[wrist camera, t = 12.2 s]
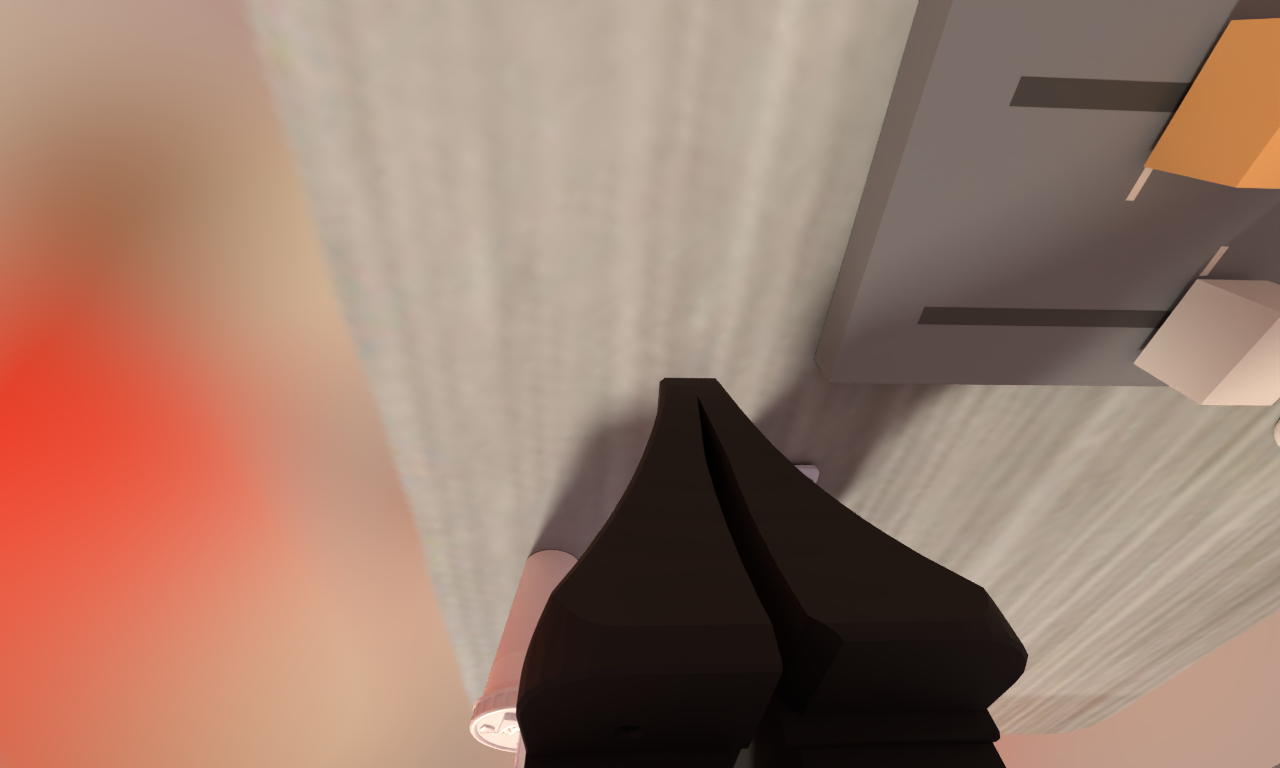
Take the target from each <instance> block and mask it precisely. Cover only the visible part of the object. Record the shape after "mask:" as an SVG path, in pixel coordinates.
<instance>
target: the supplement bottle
mask: <svg viewBox="0 0 1280 768" xmlns="http://www.w3.org/2000/svg"><path fill="white" fill-rule="evenodd" d="M1274 438H1275V441H1276V443H1277V444H1278V446H1280V420H1279V421H1278V422H1277V424H1276V426H1275V428H1274Z"/></svg>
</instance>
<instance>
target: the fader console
mask: <svg viewBox="0 0 1280 768" xmlns="http://www.w3.org/2000/svg"><path fill="white" fill-rule="evenodd" d="M1269 18H1280V0H919V3H918V7H917V10H916V13H915V17H914V20H913V24H912V27H911V31H910V34H909V37H908V41H907V44H906V48H905V51H904V54H903V58H902V61H901V65H900V68H899V72H898V75H897V78H896V82H895V85H894V89H893V92H892V95H891V99H890V102H889V106H888V109H887V113H886V116H885V119H884V123H883V126H882V130H881V133H880V136H879V140H878V143H877V147H876V150H875V154H874V157H873V160H872V164H871V167H870V171H869V174H868V177H867V181H866V184H865V188H864V191H863V195H862V198H861V201H860V205H859V208H858V212H857V215H856V218H855V222H854V225H853V229H852V232H851V236H850V239H849V242H848V246H847V249H846V253H845V256H844V259H843V263H842V266H841V270H840V273H839V277H838V280H837V283H836V287H835V290H834V294H833V297H832V300H831V304H830V307H829V311H828V314H827V318H826V321H825V324H824V328H823V331H822V335H821V338H820V341H819V345H818V348H817V352H816V355H815V359H814V360H815V362H816V364H817V365H818V367H819V368H820V370H821V372H822V373H823V375H824V376H825V378H826V380H827V381H828V383H865V384H974V385H1083V386H1169V385H1167V384H1166V383H1164V382H1162V381H1161V380H1159V379H1157V378H1156V377H1154V376H1153V375H1151V374H1149V373H1148V372H1146V371H1144V370H1143V369H1141V368H1140V367H1138V366H1136V365H1135V364H1133V363H1134V362H1135V361H1136V359H1137V358H1138V357H1139V355H1140V354H1141V353H1142V351H1143V350H1144V349H1145V347H1146V346H1147V345H1148V343H1149V342H1150V341H1151V339H1152V338H1153V337H1154V335H1155V334H1156V333H1157V332H1158V330H1159V329H1160V328H1161V326H1162V325H1163V324H1164V322H1165V321H1166V320H1167V318H1168V317H1169V316H1170V314H1171V313H1172V312H1173V310H1174V309H1175V308H1176V306H1177V305H1178V304H1179V302H1180V301H1181V300H1182V299H1183V297H1184V296H1185V295H1186V293H1187V292H1188V291H1189V289H1190V288H1191V287H1192V285H1193V284H1194V283H1195V281H1196V280H1197V279H1214V280H1263V281H1270V282H1273V283H1276V284H1279V285H1280V189H1267V188H1236V187H1231V186H1227V185H1222V184H1218V183H1213V182H1209V181H1205V180H1200V179H1196V178H1191V177H1187V176H1182V175H1178V174H1174V173H1169V172H1165V171H1160V170H1156V169H1151V168H1147V167H1143V166H1144V165H1145V163H1146V161H1147V160H1148V158H1149V156H1150V155H1151V153H1152V151H1153V150H1154V148H1155V146H1156V145H1157V143H1158V141H1159V140H1160V138H1161V136H1162V135H1163V133H1164V131H1165V130H1166V128H1167V126H1168V125H1169V123H1170V121H1171V120H1172V118H1173V116H1174V115H1175V113H1176V111H1177V110H1178V108H1179V107H1180V105H1181V103H1182V102H1183V100H1184V98H1185V97H1186V95H1187V93H1188V92H1189V90H1190V88H1191V87H1192V85H1193V83H1194V82H1195V80H1196V78H1197V77H1198V75H1199V73H1200V72H1201V70H1202V68H1203V67H1204V65H1205V63H1206V62H1207V60H1208V58H1209V57H1210V55H1211V53H1212V52H1213V50H1214V48H1215V47H1216V45H1217V43H1218V42H1219V40H1220V38H1221V37H1222V35H1223V33H1224V32H1225V30H1226V28H1227V27H1228V25H1229V23H1230V22H1231V20H1248V19H1269Z"/></svg>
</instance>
